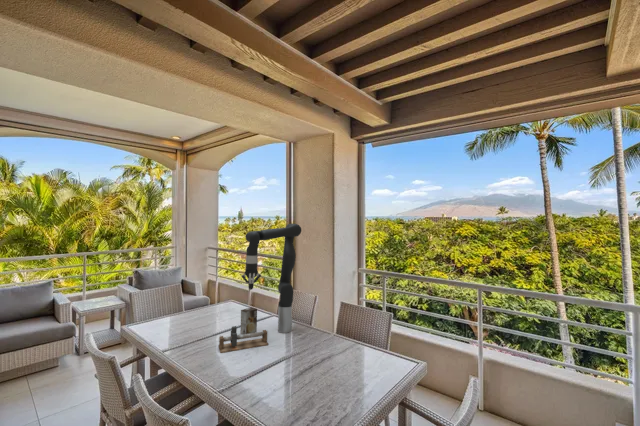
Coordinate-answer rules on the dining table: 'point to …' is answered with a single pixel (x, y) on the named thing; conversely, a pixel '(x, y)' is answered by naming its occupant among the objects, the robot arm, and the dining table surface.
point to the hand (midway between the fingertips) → (250, 289)
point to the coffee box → (248, 321)
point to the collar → (234, 336)
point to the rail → (243, 342)
